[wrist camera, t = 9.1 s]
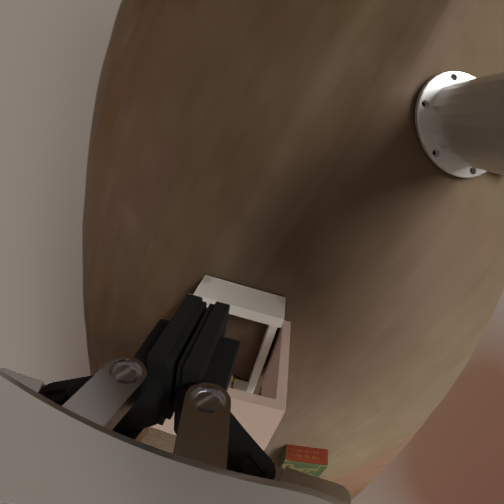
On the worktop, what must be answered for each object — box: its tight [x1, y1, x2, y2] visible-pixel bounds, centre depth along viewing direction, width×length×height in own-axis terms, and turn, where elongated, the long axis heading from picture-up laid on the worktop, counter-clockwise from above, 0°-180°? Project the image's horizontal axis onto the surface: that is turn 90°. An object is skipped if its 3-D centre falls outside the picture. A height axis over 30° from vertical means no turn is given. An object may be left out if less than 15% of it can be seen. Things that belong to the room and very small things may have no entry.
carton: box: [275, 445, 328, 477], centre depth 51 cm, size 8×16×4 cm, turn 168°
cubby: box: [150, 293, 291, 451], centre depth 35 cm, size 14×9×15 cm, turn 76°
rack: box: [193, 275, 286, 394], centre depth 42 cm, size 10×26×5 cm, turn 166°
